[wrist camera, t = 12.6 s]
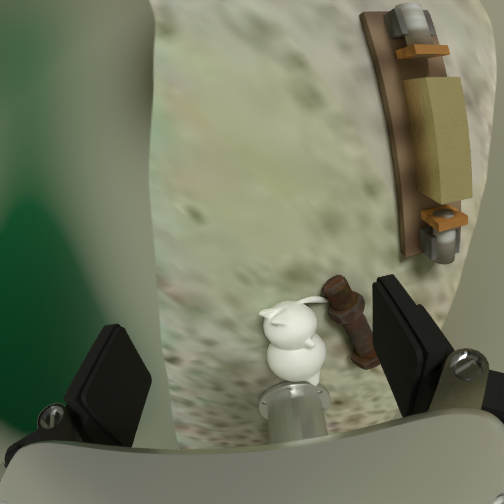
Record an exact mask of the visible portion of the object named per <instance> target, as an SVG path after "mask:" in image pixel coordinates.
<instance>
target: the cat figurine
mask: <svg viewBox="0 0 504 504" xmlns="http://www.w3.org/2000/svg"><path fill="white" fill-rule="evenodd" d="M326 302H329V300H328V299H326V298H324V297H320V296H311V297H307V298H304V299H301V300H299V301H283V302H280V303H278V304H276V305H274V306H273V307H272V308H270V309H264V310H261V311H259V315H260V316H263V317H265V319H264V324H263V329H264V333H265V335H266V337H267V339H268V340H269V341H270V342H271V343H270V345H269V347H268V350H267V362H268V365H269V367H270V369H271V370H272V371H273V372H274V373H275V374H276V375H277V376H278V377H280V378H282V379H284V380H287V381H292V382H299V381H307V382H309V383H310V384H312V385H314V386H317V385H318V384H319V378H320V369H321V367H322V365H323V363H324V361H325V357H326V348H325V344H324V342H323V340H322V339H321V337H320V336H319V335H317V334H316V333H315V331H316V328H317V317H316V315H315V313H314V312H313V311H312V310H311V309H310V308H309V307H308V306H306V305H304V303H326Z"/></svg>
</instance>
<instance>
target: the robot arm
mask: <svg viewBox="0 0 504 504" xmlns="http://www.w3.org/2000/svg"><path fill="white" fill-rule="evenodd" d="M372 291H373V333H372V342H373V347H374V350H375V352H376V354H377V357H378V359H379V361H380V364H381V366H382V368H383V371H384V373H385V375H386V378H387V380H388V383H389V385H390V387H391V390H392V392H393V395H394V397H395V400H396V402H397V405H398V407H399V410H400V412H401V415H402V417H403V418H400V419H395V420H391V421H387V422H384V423H380V424H376V425H372V426H368V427H364V428H360V429H355V430H351V431H346V432H342V433H337V434H332V435H328V432H327V426H326V421H325V416H324V412H325V411H326V410H327V409H328V407H329V405H330V395H329V392H328V390H327V389H326V388H325V387H324V386H322V385H320V384H318V385H317V386H314V385H312V384H310V383H309V382H307V381H299V382H292V381H289V382H285V383H281V384H278V385H276V386H273V387H272V388H270V389H268V390H267V391H266V392H265V393H263V395H262V396H261V397H260V399H259V404H258V407H259V412H260V414H261V415H262V416H263V417H264V418H265V419H266V420H268V436H269V445H260V446H249V447H237V448H220V449H149V448H132V444H133V441H134V438H135V434H136V431H137V428H138V424H139V421H140V418H141V414H142V411H143V408H144V405H145V402H146V398H147V395H148V392H149V389H150V386H151V381H152V379H151V375H150V373H149V371H148V370H147V368H146V366H145V364H144V363H143V361H142V359H141V357H140V356H139V354H138V352H137V350H136V349H135V347H134V345H133V343H132V341H131V339H130V338H129V335H128V334H127V332H126V330H125V328H123V327H121V326H120V325H119V324H112V325H105V326H104V327H103V329H102V330H101V332H100V334H99V335H98V337H97V339H96V340H95V342H94V344H93V345H92V347H91V349H90V351H89V352H88V354H87V356H86V358H85V359H84V361H83V363H82V365H81V366H80V368H79V370H78V372H77V374H76V375H75V377H74V379H73V381H72V383H71V385H70V387H69V388H68V390H67V392H66V394H65V396H64V398H63V399H64V400H65V401H66V403H67V405H66V407H65V406H64V405H63V404H60V403H55V404H51V405H49V406H47V407H46V408H45V409H44V410H43V411H42V412H41V413H40V415H39V417H38V420H37V421H38V422H37V425H38V429H37V430H36V431H34V432H33V433H31V434H29V435H27V436H26V437H24V438H22V439H21V440H19V441H18V442H16V443H14V444H13V445H11V446H10V447H9V448H8V449H7V452H6V454H5V464H4V463H3V462H2V463H1V464H0V504H504V373H500V372H497V371H492V370H489V363H488V361H487V359H486V357H485V356H484V355H483V354H482V353H480V352H479V351H477V350H474V349H469V348H463V349H458V350H456V351H455V350H454V349H453V347H452V346H451V344H450V343H449V341H448V340H447V339H446V337H445V336H444V334H443V333H442V331H441V330H440V329H439V327H438V326H437V324H436V323H435V322H434V320H433V319H432V318H431V316H430V315H429V313H428V312H427V311H426V309H425V308H424V307H423V306H422V305H420V304H418V305H416V304H415V302H414V301H413V300H412V298H411V297H410V296H409V294H408V293H407V292H406V290H405V289H404V288H403V286H402V285H401V284H400V282H399V281H398V280H397V278H396V277H395V276H394V275H393V274H391V275H386V276H382V277H378V278H377V282H374V283H373V285H372Z"/></svg>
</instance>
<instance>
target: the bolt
mask: <svg viewBox="0 0 504 504" xmlns="http://www.w3.org/2000/svg"><path fill="white" fill-rule="evenodd" d="M322 289H323V291H324V293H325V295H326V296H327V298H328V300H329V302H330V306H329V310H328V314H329V316H330V317H331V319H332V320H334V321H335V322H337V323H338V324H342V325H343V327H344V329H345V330H346V332H347V334H348V336H349V337H350V339H351V341H352V343H353V345H354V350H353V353H352V356H351V360H352V361H353V363H354V364H356V365H357V366H359V367H360V368H362V369H365V370H367V369H371V368H374V367H376V366H378V365H380V361H379V359H378V357H377V354H376V352H375V350H374V347H373V342H372V331H371V329H370V326H369V324H368V322H367V320H366V318H365V316H364V314H363V311H364V307H365V300H364V298H363V296H362V295H360V294H359V293H357V292H354V291H352V290H351V288H350V286H349V284H348V282H347V280H346V279H345V277H343V276H341V275H336V276H334V277H332V278H330V279H329V280H328V281H327V282H326V283H325V284H324V286H323V288H322Z"/></svg>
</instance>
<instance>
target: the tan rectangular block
mask: <svg viewBox="0 0 504 504" xmlns="http://www.w3.org/2000/svg"><path fill="white" fill-rule="evenodd" d="M401 82H402V87H403V91H404V96H405V101H406V106H407V112H408V118H409V123H410V130H411V136H412V143H413V151H414V159H415V168H416V178H417V189H418V191H419V192H421V193H423V194H424V195H426V196H428V197H430V198H431V199H433V200H435V201H436V202H438V203H440V204H441V205H442V204H446V203H451V202H455V201H459V200H464V199H468V198H472V169H471V153H470V141H469V132H468V123H467V115H466V109H465V102H464V96H463V90H462V85H461V80H460V77H425V78H417V79H409V80H402V81H401Z"/></svg>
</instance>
